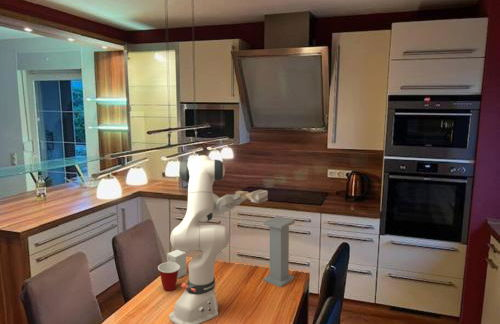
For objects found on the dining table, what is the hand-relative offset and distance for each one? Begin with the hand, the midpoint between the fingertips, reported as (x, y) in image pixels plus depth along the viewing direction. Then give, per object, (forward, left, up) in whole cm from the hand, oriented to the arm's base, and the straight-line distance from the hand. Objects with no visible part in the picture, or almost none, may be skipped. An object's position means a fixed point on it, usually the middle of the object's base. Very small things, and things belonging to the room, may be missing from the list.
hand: (243, 194), depth 200 cm
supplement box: (-30, +22, -43) cm, 57 cm away
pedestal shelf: (0, -24, -42) cm, 49 cm away
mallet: (0, -5, -2) cm, 5 cm away
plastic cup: (-42, +13, -43) cm, 61 cm away
